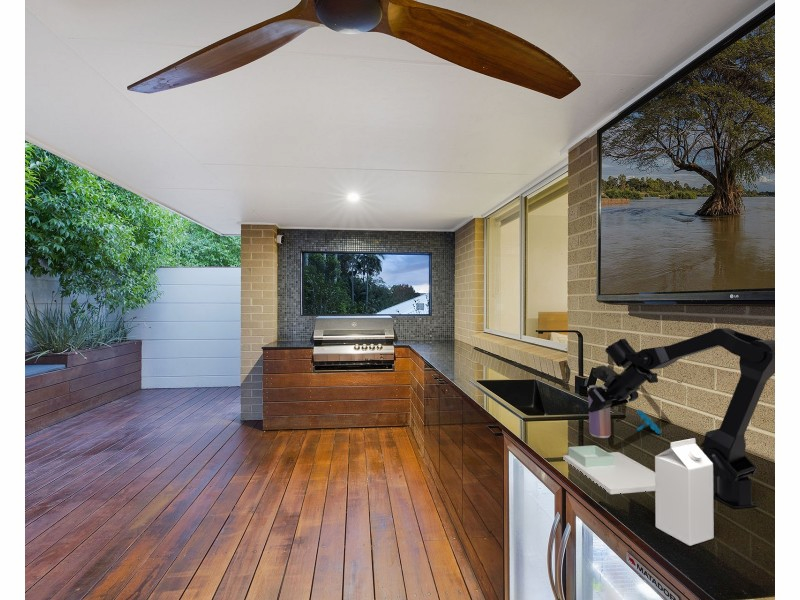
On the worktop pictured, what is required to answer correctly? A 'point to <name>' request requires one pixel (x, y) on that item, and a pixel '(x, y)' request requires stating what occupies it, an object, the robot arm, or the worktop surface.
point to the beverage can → (599, 420)
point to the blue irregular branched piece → (648, 423)
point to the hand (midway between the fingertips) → (595, 409)
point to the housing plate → (611, 470)
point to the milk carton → (684, 493)
